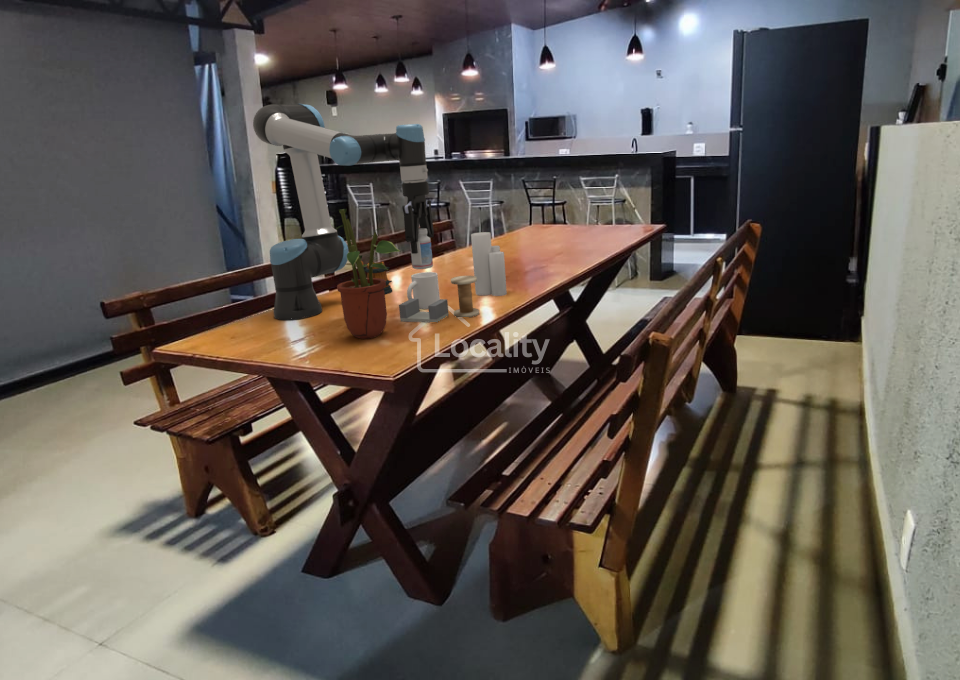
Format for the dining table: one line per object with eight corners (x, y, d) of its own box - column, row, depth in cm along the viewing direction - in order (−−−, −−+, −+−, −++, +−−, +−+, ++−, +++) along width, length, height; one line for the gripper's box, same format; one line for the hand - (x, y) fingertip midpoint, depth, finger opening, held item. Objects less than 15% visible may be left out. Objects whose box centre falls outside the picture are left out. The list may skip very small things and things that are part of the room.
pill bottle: (436, 267, 196) (433, 228, 193) (418, 270, 193) (415, 231, 190) (426, 264, 201) (423, 227, 198) (408, 268, 198) (404, 230, 195)
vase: (472, 295, 224) (467, 235, 219) (481, 290, 231) (476, 232, 225) (503, 296, 220) (499, 235, 214) (511, 291, 226) (507, 231, 220)
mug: (418, 313, 206) (414, 280, 203) (400, 310, 211) (396, 278, 208) (445, 304, 214) (442, 273, 211) (427, 302, 220) (424, 271, 217)
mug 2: (398, 290, 241) (395, 258, 238) (381, 296, 233) (377, 264, 230) (370, 288, 248) (366, 257, 244) (352, 295, 239) (348, 263, 236)
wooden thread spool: (449, 317, 199) (446, 280, 195) (460, 310, 205) (457, 275, 202) (473, 318, 196) (470, 281, 192) (483, 311, 202) (480, 275, 199)
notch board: (400, 321, 199) (398, 304, 197) (413, 314, 206) (412, 298, 204) (436, 322, 194) (434, 306, 192) (448, 315, 201) (447, 299, 199)
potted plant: (346, 345, 179) (328, 212, 168) (341, 331, 193) (323, 208, 183) (411, 335, 183) (396, 205, 173) (401, 322, 197) (387, 201, 187)
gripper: (410, 183, 180) (419, 268, 187) (441, 177, 197) (447, 255, 204) (386, 185, 183) (395, 268, 190) (418, 179, 200) (425, 255, 206)
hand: (422, 261), depth 197 cm, fingers closed on pill bottle, 6 cm apart
